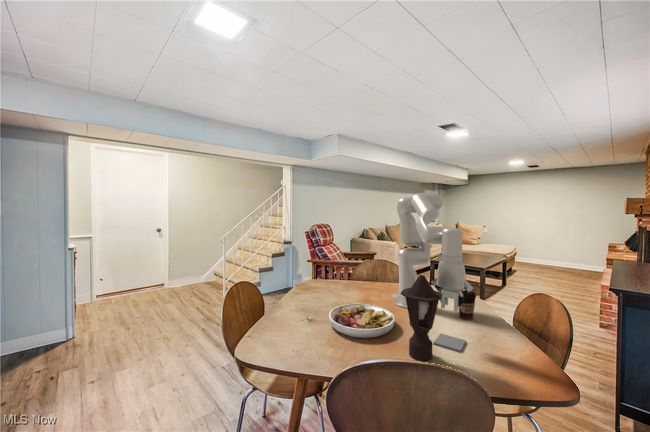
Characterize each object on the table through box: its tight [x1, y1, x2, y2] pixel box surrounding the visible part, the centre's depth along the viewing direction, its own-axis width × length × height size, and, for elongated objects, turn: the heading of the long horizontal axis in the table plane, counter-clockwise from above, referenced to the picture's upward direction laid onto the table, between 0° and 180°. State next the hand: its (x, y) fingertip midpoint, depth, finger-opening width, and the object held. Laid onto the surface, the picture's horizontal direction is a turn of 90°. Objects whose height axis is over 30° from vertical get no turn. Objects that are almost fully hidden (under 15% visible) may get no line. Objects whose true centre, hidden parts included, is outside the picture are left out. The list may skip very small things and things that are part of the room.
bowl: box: [328, 303, 395, 339], centre depth 130 cm, size 30×30×8 cm
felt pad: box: [432, 333, 467, 353], centre depth 113 cm, size 10×10×1 cm
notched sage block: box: [440, 288, 461, 312], centre depth 112 cm, size 6×6×7 cm
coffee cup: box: [458, 289, 477, 321], centre depth 138 cm, size 9×8×13 cm
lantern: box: [401, 274, 442, 363], centre depth 103 cm, size 15×15×30 cm
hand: (451, 303), depth 112 cm, fingers closed on notched sage block, 6 cm apart
